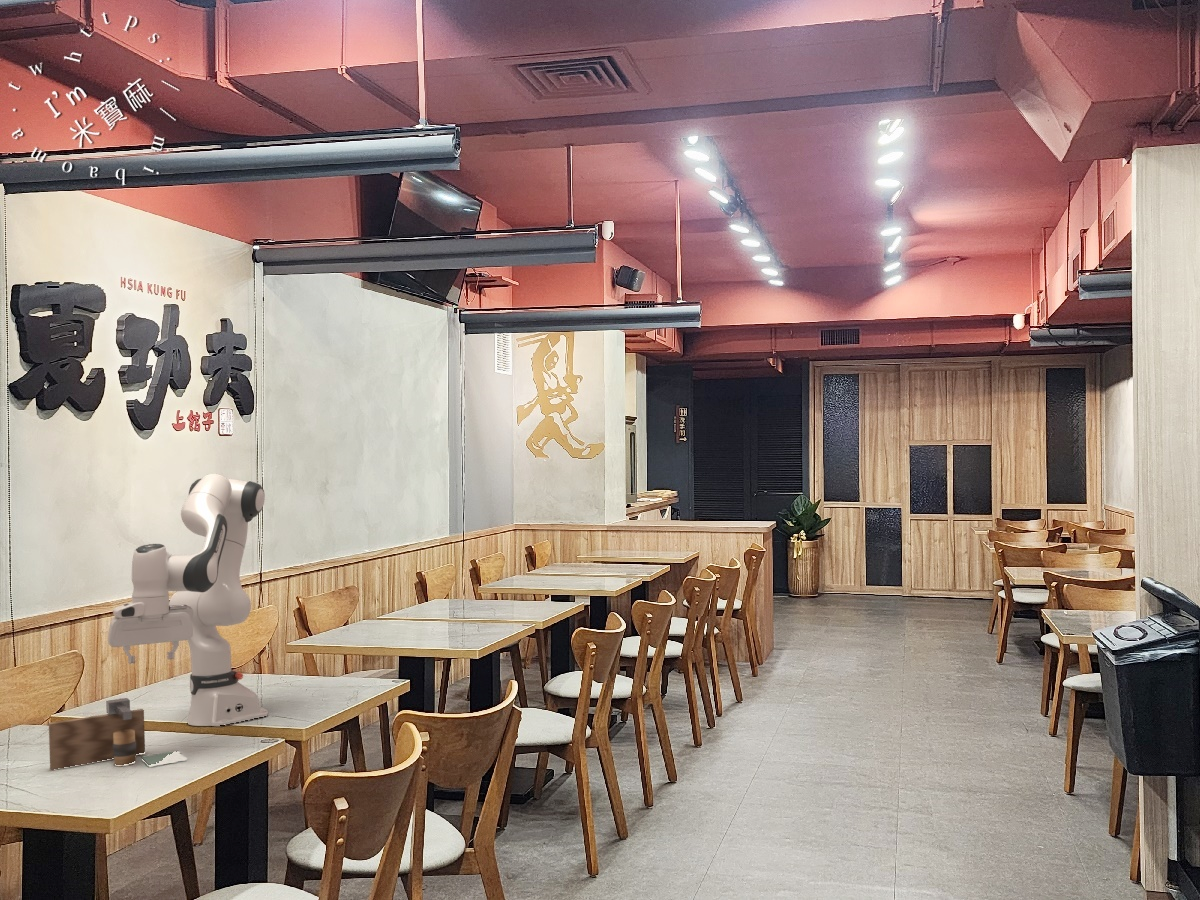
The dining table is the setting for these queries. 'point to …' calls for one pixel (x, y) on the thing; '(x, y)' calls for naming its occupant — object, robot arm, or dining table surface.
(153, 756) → the mat
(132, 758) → the spool
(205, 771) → the dining table surface
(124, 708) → the clamp bar
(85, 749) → the board
